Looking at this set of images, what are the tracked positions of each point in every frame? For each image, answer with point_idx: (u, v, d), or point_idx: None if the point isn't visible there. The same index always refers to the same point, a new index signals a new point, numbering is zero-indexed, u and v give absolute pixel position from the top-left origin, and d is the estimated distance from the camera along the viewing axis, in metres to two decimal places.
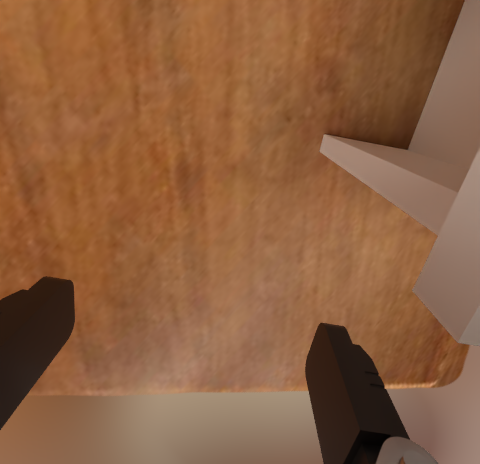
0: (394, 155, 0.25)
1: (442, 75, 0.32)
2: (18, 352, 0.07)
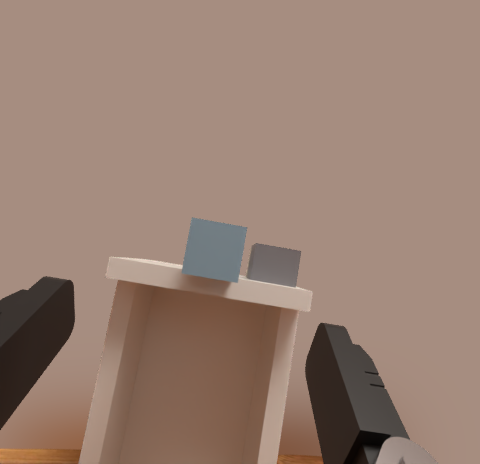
0: (251, 463, 0.35)
1: None
2: (18, 352, 0.07)
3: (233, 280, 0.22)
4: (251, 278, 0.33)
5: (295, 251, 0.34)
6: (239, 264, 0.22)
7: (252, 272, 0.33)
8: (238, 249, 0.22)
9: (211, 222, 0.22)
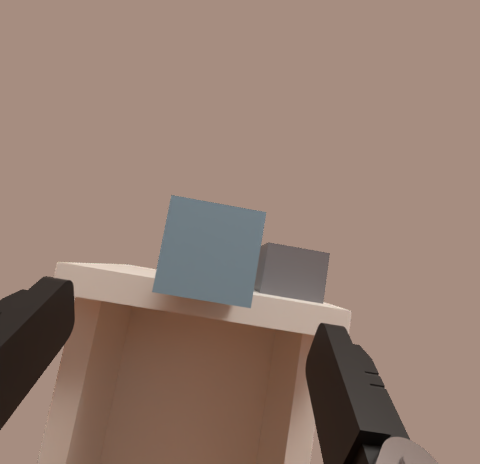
0: None
1: None
2: (18, 352, 0.07)
3: (243, 304, 0.13)
4: (262, 291, 0.24)
5: (321, 253, 0.25)
6: (253, 275, 0.13)
7: (263, 283, 0.24)
8: (251, 250, 0.13)
9: (205, 203, 0.13)
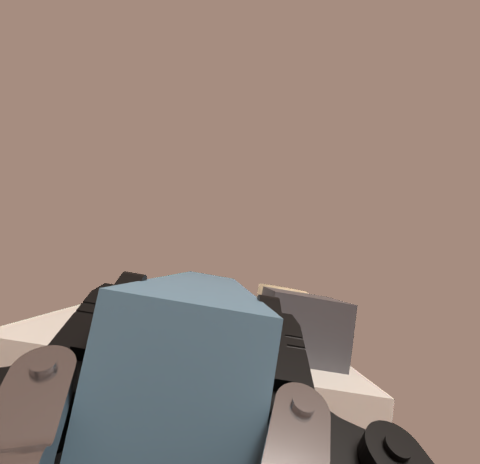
0: None
1: None
2: None
3: None
4: None
5: (347, 306, 0.18)
6: (258, 449, 0.06)
7: None
8: (254, 397, 0.07)
9: (165, 303, 0.07)
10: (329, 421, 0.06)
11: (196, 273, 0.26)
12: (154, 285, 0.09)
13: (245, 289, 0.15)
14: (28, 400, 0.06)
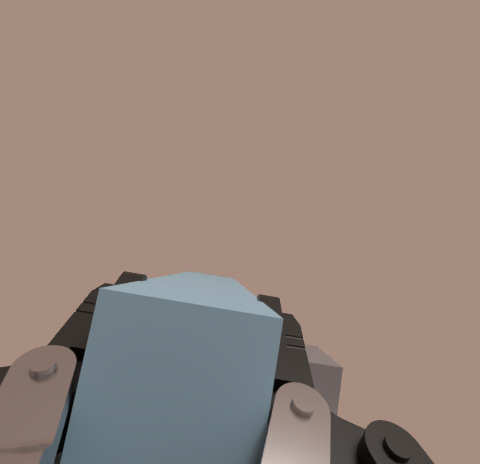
0: None
1: None
2: None
3: None
4: None
5: (332, 368, 0.19)
6: (258, 449, 0.06)
7: None
8: (254, 396, 0.07)
9: (165, 303, 0.07)
10: (329, 421, 0.06)
11: (196, 273, 0.26)
12: (154, 285, 0.09)
13: (245, 289, 0.15)
14: (28, 400, 0.06)
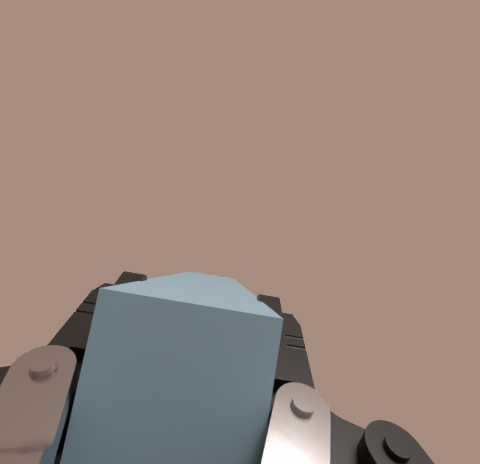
0: None
1: None
2: None
3: None
4: None
5: None
6: (258, 449, 0.06)
7: None
8: (255, 396, 0.07)
9: (165, 303, 0.07)
10: (329, 421, 0.06)
11: (196, 273, 0.26)
12: (154, 285, 0.09)
13: (245, 289, 0.15)
14: (28, 400, 0.06)
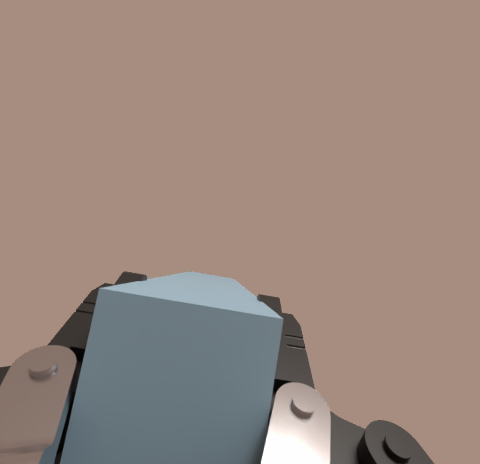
0: None
1: None
2: None
3: None
4: None
5: None
6: (259, 449, 0.06)
7: None
8: (254, 397, 0.07)
9: (165, 303, 0.07)
10: (329, 421, 0.06)
11: (196, 273, 0.26)
12: (154, 285, 0.09)
13: (245, 289, 0.15)
14: (28, 400, 0.06)
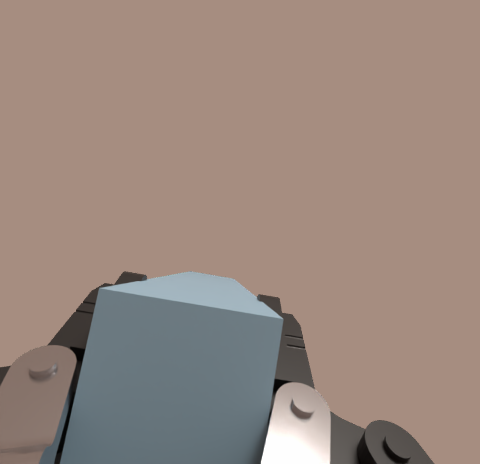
0: None
1: None
2: None
3: None
4: None
5: None
6: (259, 449, 0.06)
7: None
8: (254, 397, 0.07)
9: (165, 303, 0.07)
10: (329, 421, 0.06)
11: (196, 273, 0.26)
12: (154, 285, 0.09)
13: (245, 289, 0.15)
14: (28, 400, 0.06)
